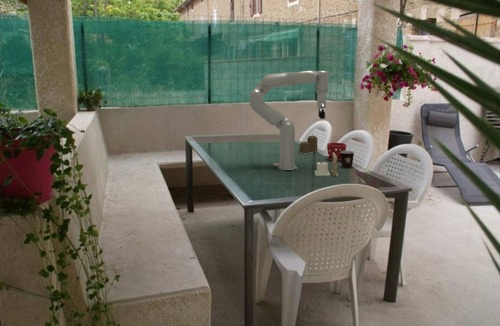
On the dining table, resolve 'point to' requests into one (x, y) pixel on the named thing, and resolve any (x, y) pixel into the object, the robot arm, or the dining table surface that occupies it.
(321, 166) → the letter cube
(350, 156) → the coffee mug
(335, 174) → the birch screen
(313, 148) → the brown stepped block
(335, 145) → the plant pot
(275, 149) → the dining table surface
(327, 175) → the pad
